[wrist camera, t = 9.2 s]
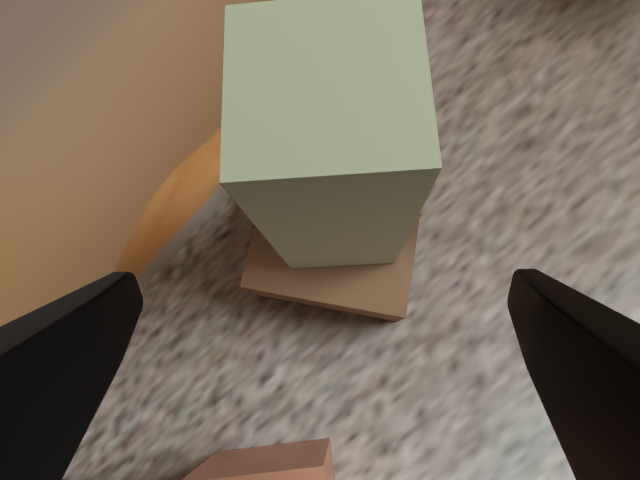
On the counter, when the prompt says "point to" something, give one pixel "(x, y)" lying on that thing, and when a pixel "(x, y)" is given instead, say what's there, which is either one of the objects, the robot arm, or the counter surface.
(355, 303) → the walnut slab
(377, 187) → the sage block
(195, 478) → the terracotta cube
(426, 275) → the counter surface
